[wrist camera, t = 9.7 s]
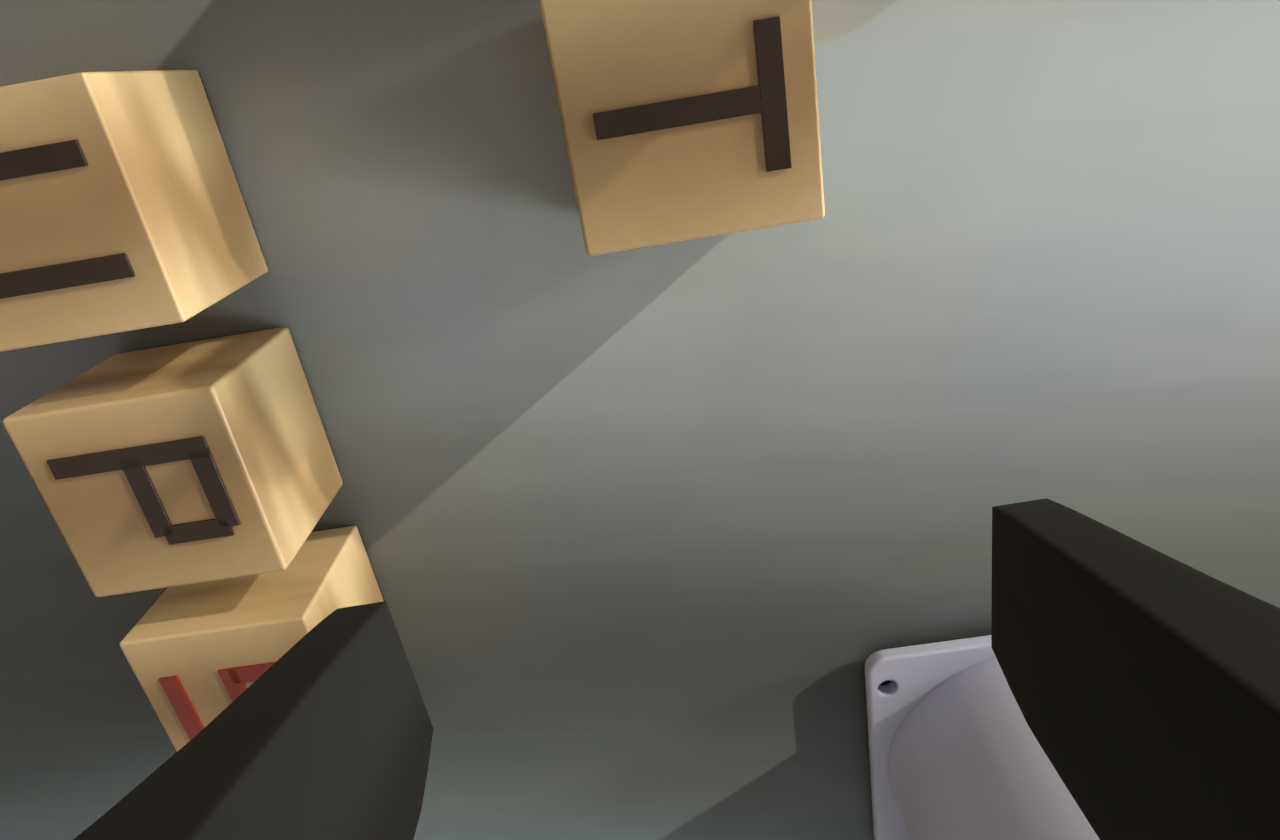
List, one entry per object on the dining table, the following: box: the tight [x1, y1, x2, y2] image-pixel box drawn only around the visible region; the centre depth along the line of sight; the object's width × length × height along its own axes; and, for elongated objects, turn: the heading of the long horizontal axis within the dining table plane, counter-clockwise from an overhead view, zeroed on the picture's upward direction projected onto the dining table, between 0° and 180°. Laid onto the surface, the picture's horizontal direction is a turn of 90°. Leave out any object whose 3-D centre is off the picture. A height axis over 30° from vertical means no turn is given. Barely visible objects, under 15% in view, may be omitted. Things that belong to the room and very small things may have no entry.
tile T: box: [539, 0, 825, 256], centre depth 14 cm, size 4×4×4 cm
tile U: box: [0, 69, 268, 352], centre depth 15 cm, size 4×4×4 cm
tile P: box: [2, 327, 343, 597], centre depth 17 cm, size 4×4×4 cm
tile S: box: [120, 526, 383, 752], centre depth 19 cm, size 4×4×4 cm
